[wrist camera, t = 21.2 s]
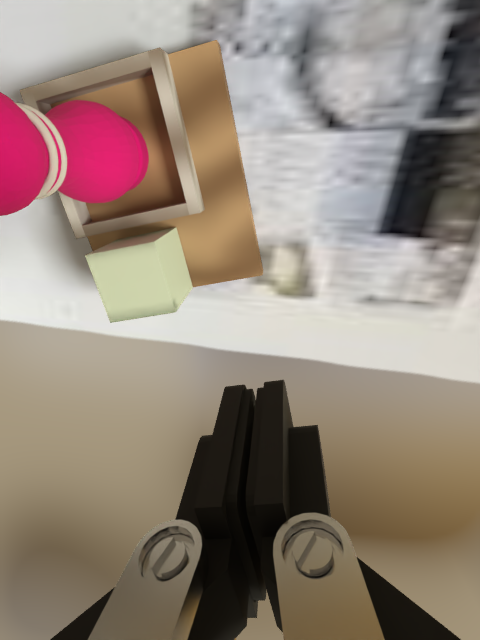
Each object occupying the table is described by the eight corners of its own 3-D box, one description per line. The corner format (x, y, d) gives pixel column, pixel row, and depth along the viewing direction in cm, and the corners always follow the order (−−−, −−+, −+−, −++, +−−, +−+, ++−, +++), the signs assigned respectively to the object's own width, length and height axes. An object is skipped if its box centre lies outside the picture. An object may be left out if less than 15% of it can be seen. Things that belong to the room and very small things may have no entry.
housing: (117, 239, 35) (85, 255, 29) (176, 227, 34) (154, 241, 28) (137, 297, 37) (110, 322, 32) (192, 287, 36) (175, 312, 31)
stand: (45, 96, 32) (10, 87, 28) (219, 45, 29) (209, 27, 25) (117, 296, 39) (98, 312, 35) (263, 270, 37) (260, 285, 32)
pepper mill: (60, 128, 32) (-238, 90, 14) (131, 92, 30) (-101, -7, 12) (100, 209, 34) (-106, 267, 16) (168, 180, 33) (23, 209, 14)
